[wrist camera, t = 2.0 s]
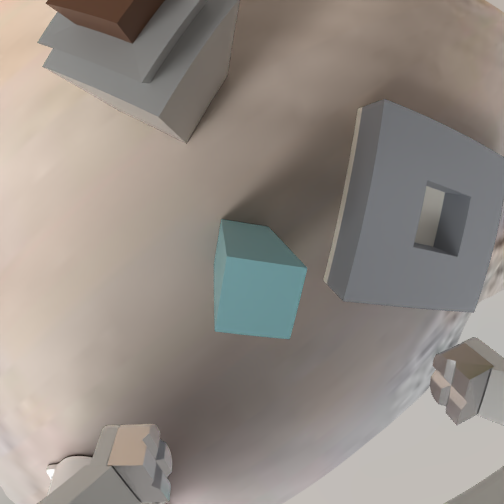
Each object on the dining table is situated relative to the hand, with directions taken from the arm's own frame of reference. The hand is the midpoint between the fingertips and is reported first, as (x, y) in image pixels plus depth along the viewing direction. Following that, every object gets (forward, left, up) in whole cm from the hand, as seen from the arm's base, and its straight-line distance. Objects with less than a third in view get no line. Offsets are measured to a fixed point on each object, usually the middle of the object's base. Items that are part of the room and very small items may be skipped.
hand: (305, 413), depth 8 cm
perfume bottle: (+12, +8, -21) cm, 25 cm away
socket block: (+6, -16, -20) cm, 27 cm away
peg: (0, 0, -20) cm, 20 cm away
